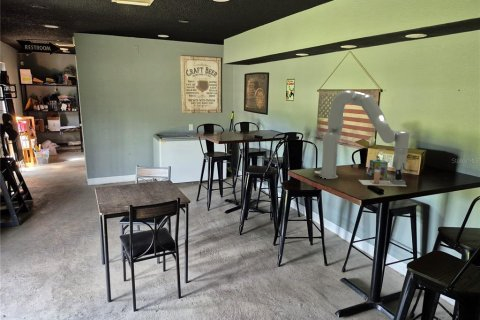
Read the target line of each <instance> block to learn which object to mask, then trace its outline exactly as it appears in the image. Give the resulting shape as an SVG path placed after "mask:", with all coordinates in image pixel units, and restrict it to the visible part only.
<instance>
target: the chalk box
mask: <svg viewBox="0 0 480 320" xmlns="http://www.w3.org/2000/svg"><path fill="white" fill-rule="evenodd" d="M388 164H389V162H388V161H386V160H384V159H380V156H378V155H376V159H370V160H369V170H368V176H370V177H372V178H374V174H375V169H380V178H383V179H385V178H386V179H387V178H388V167H389V166H388Z"/></svg>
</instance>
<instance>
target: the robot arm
mask: <svg viewBox="0 0 480 320" xmlns="http://www.w3.org/2000/svg"><path fill="white" fill-rule="evenodd" d="M347 104H350V105H355V106H358V107H361V108H362V109H363V112H364V113H365V114H366V116H367V118H368V119H369V121H370V123H371V124H372V126H373V127H374V129H375V131H376V133H377V134H378V136H379V137H380V139H381V140H382V142H384V143H386V144H392V143H393V142H394V151H393V158H392V165H391V166H392V168H393V169H395V174H394V177H395V178H394V179H396V180H401V179H402V175H403V173H404V171H406V168H407V155H408V154H409V153H408V151H409V143H410V142H409V141H410V132H409V131H407V130H392V129H391V126H390V125H389V123H388V121H387V120H386V117H385V114H384V112H383V111H382V109H381V108H380V105H378V103H377V102H376V100H375V97H374V96H373V95H372V94H369V93H363V92H359V91H355V90H351V89H346V90H342V91H341V92H338V93H337V94H336V95H335V96H334V97H333V99H332V102H331V106H330V109H329V114H328V117H327V122H326V123H327V132H325V133H324V134H323V136H322V157H321V158H322V159H321V160H322V162H321V169H320V170H314V175H315V174H316V175H318V177H319V176H320V177H322V178H321V179H324V178H326V179H325V180H333V179H337V178H338V177H339V176H338V175H337V163H338V161H337V159H338V142H339V141H340V139H341V136H342V131H343V127H344V117H343V116H344V111H345V107H346V105H347ZM320 177H319V178H320Z"/></svg>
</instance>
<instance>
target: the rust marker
mask: <svg viewBox="0 0 480 320" xmlns="http://www.w3.org/2000/svg"><path fill="white" fill-rule="evenodd" d="M373 180H374V184H379V181H381V180H380V169H375V174H374V177H373Z"/></svg>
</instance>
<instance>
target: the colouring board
mask: <svg viewBox="0 0 480 320" xmlns="http://www.w3.org/2000/svg"><path fill="white" fill-rule="evenodd" d="M389 179H390V180H379V184H374V179H370V180H369V179H358V181H359V182H360V183H361V185H364V186H390V187H392V186H393V187H396V186H397V187H407V185H406V181H405V180H404V179H402V178H401V180H402V182H401V181H394V179H395V178H389Z"/></svg>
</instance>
